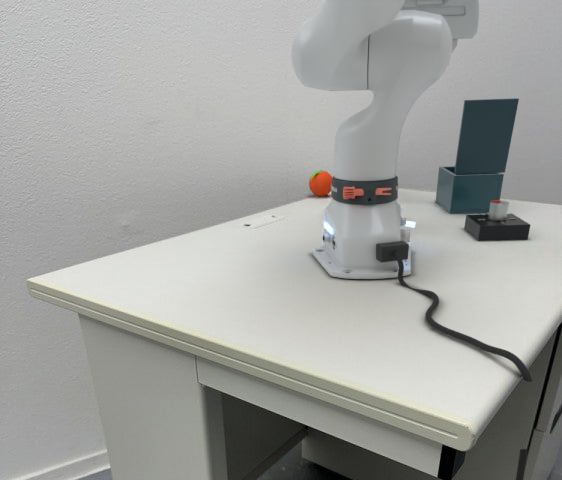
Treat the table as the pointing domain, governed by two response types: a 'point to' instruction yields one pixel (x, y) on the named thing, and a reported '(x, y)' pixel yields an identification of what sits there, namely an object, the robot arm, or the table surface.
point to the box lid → (485, 135)
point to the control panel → (496, 228)
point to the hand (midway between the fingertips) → (421, 66)
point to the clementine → (320, 183)
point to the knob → (498, 210)
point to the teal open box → (467, 190)
